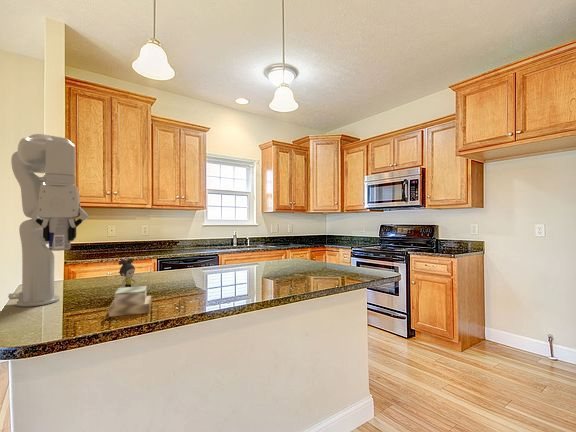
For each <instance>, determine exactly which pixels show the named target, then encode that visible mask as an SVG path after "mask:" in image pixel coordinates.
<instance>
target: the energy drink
mask: <svg viewBox="0 0 576 432" xmlns="http://www.w3.org/2000/svg"><path fill="white" fill-rule="evenodd" d="M70 226H71V225H70V223H69V220H68V218H59V217H55V218H49V244H48V248H49V250H50V251H52V252H53V251H55V252H56V251H58V252H59V251H60V252H61V251H69V250H70V249H71V241H69V228H70Z"/></svg>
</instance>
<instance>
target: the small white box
mask: <svg viewBox="0 0 576 432" xmlns="http://www.w3.org/2000/svg"><path fill="white" fill-rule="evenodd" d="M147 293H148V292H147V285H139V286H131V287H125V286H123V287H118V289H117V290H116V291H115V292H114V299H113V300H112V302H111V303H110V304H109V306H108V317H118V316H120V317H121V316H128V315H129V316H130V315H139V314H148V313H149V314H150V311H151V305H152V295H147Z"/></svg>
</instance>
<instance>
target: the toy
mask: <svg viewBox="0 0 576 432" xmlns="http://www.w3.org/2000/svg"><path fill="white" fill-rule="evenodd" d="M132 263H134V259H133V258H128V259H127V260H125V259H120V260H119V262H118V265H119V266H120V265H121V267H120V268H119V275H120V276H121V277H124V279H122V281H121V284H120V286H121V287H132V282H133V283H136V282H137V280H135V279H134V278H133V277H134V275H135V271H136V267H135V266H134V264H132Z"/></svg>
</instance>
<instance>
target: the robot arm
mask: <svg viewBox="0 0 576 432" xmlns="http://www.w3.org/2000/svg"><path fill="white" fill-rule="evenodd" d="M10 162H11V163H10V164H11V168H12V172H13V175H14V178H15V179H16V180H17V183H18V185H19V187H20V195H21V205H22V212H23V214H24V216H25V217H27V218H28V219H27V220H23V221H22V222H21V223H20V225H19V228H18V230H19V239H20V242H21V253H22V255H21V258H22V259H21V261H22V262H21V263H22V265H21V268H22V269H21V270H22V271H21V272H22V273H21V274H22V276H21V278H22V280H21V281H22V282H21V286H22V288H21V289H22V290H21V291H20V292H18V293H17V292H15V293H13V292H12V293H9V294H8V297H7V298H8V299H9V300H17V301H16V306H17V307H22V308H23V307H24V308H25V307H38V306H44V305H49V304H53V303H55V302H58V301H59V300H60V296H59V295H56V294H55V254H54V252H53V251H50V250H49V246H47V245H49V218H55V217H59V218H68V220H69V223H70V225H71V226H70V228H69V241H71V242H73V241H75V239H76V238H77V233H78V232H77V228H78V226H80V225H81V224H82V223H83V222H84V221H86V220H88V218H89V217H90V216H89V215H88V213H87V212H86V211H85V210H84V209H83V208H82V207H81V199H80V197H81V196H80V192H79V188H78V186H77V185H76V162H77V155H76V146H75V144H74V143H72V141H71V140H69V139H68V138H66V137H61V136H55V135H49V134H43V133H35V134H34V133H33V134H31V135H29V136H28V137H23V138H21V139H20V140H19V142H18V144H17V151H15V152H14V153H13V154H12V155H11V159H10ZM37 174H44V175H43V176H38V175H37ZM79 217H80V218H79ZM77 218H78V219H77ZM76 219H77V220H76Z"/></svg>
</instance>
